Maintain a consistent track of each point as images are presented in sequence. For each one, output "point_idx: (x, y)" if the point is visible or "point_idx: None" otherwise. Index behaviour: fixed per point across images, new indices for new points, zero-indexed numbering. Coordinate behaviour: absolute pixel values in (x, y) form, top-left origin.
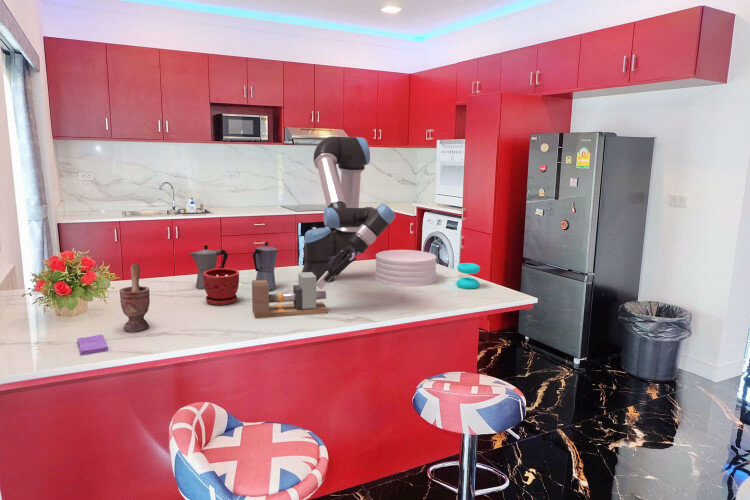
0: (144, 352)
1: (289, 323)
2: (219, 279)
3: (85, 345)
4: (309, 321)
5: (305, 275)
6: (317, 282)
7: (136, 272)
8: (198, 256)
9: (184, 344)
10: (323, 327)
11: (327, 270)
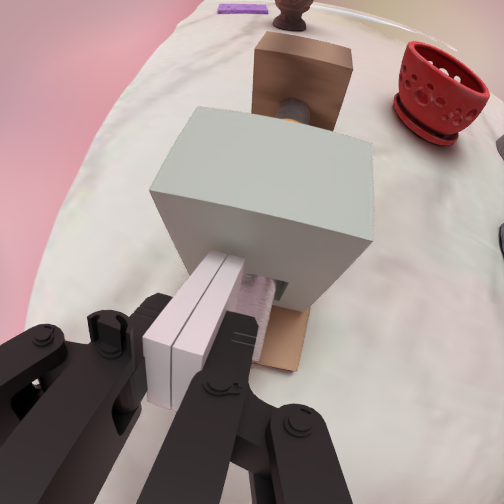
0: (186, 25)
1: (153, 168)
2: (406, 49)
3: (236, 5)
4: (128, 225)
5: (253, 139)
6: (214, 260)
7: None
8: None
9: (181, 41)
10: (59, 239)
11: (126, 317)
